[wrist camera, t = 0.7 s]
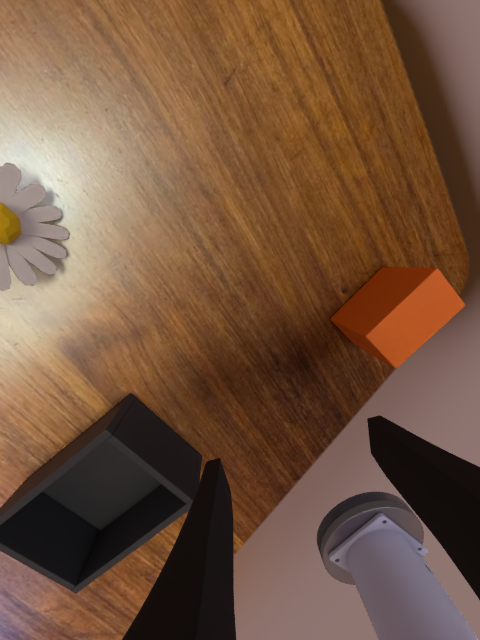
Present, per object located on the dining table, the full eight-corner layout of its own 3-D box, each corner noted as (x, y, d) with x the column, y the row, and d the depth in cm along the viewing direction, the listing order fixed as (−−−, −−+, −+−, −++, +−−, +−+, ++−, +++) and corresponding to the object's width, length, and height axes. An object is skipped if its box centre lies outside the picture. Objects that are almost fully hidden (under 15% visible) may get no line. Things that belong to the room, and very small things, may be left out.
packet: (405, 295, 19) (466, 305, 15) (353, 344, 20) (396, 369, 15) (381, 266, 19) (438, 267, 14) (329, 318, 19) (365, 336, 14)
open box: (202, 456, 22) (197, 504, 17) (103, 531, 23) (76, 594, 18) (131, 392, 19) (105, 429, 15) (26, 479, 21) (-26, 536, 16)
